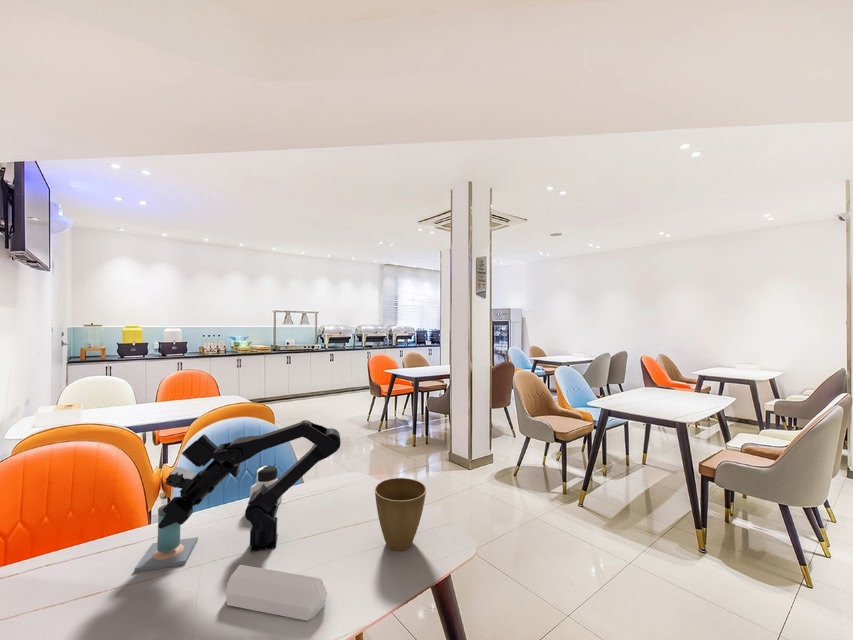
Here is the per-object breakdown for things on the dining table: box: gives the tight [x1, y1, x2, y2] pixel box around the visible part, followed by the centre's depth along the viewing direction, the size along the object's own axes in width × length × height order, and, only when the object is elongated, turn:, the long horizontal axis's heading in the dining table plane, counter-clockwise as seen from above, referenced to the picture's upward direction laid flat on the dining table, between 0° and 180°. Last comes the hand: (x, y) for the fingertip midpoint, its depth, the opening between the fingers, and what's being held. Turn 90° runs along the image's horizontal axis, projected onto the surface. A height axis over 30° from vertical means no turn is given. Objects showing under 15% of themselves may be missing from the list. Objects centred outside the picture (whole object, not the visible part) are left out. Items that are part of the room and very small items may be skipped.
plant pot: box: [374, 477, 427, 552], centre depth 105 cm, size 15×15×16 cm
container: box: [249, 465, 283, 506], centre depth 126 cm, size 8×8×13 cm
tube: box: [156, 503, 181, 552], centre depth 98 cm, size 5×5×10 cm
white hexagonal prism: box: [225, 564, 328, 621], centre depth 82 cm, size 7×7×24 cm
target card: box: [134, 536, 199, 573], centre depth 98 cm, size 11×11×1 cm
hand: (163, 522), depth 97 cm, fingers closed on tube, 5 cm apart
